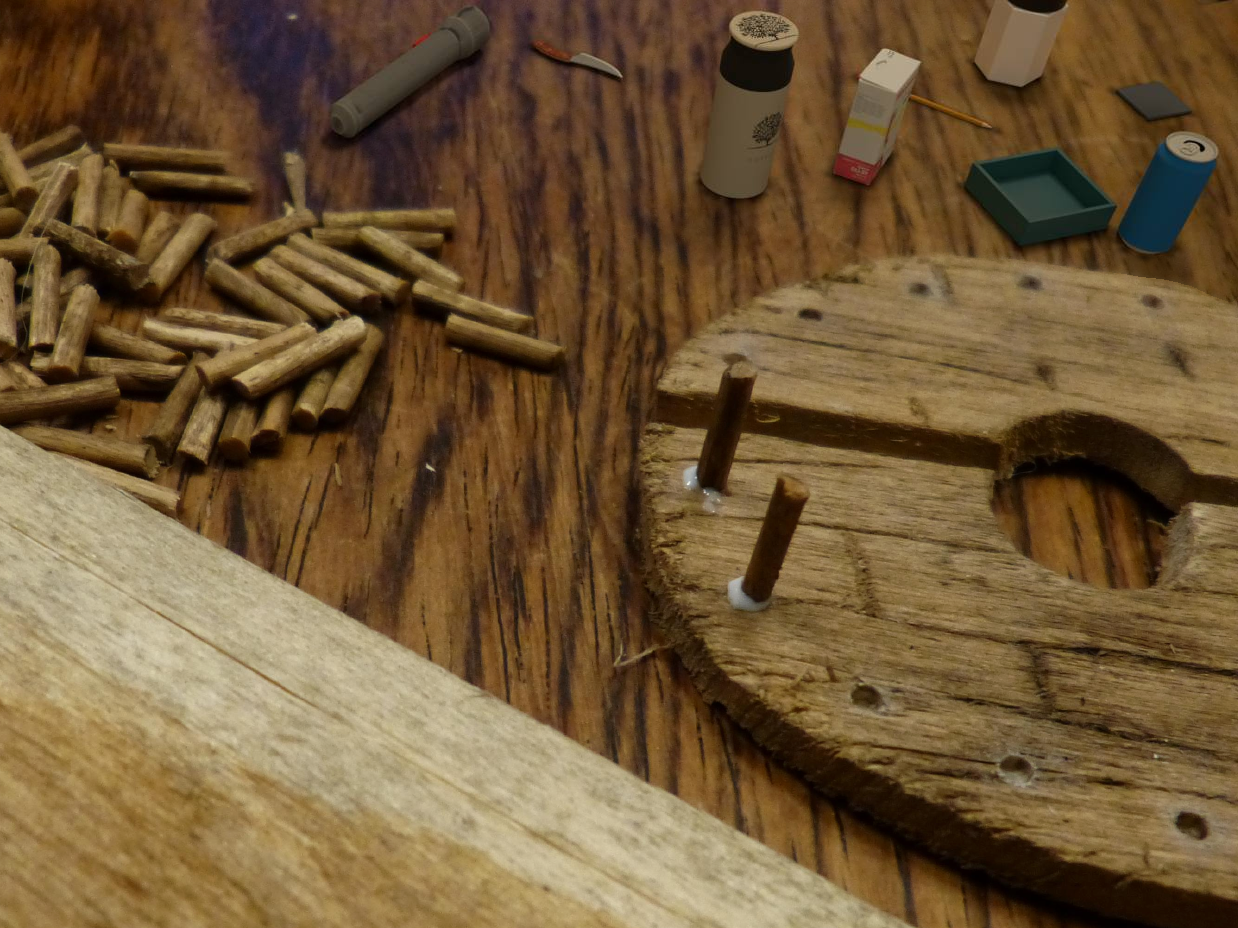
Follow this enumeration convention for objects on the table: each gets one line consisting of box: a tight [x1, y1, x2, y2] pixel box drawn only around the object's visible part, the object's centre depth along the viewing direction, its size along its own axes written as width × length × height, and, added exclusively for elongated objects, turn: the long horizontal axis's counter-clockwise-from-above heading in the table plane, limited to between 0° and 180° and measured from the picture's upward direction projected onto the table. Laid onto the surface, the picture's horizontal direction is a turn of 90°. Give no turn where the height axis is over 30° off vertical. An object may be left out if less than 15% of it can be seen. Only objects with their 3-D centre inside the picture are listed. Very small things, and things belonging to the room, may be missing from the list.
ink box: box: [832, 48, 922, 186], centre depth 149 cm, size 9×5×12 cm, turn 151°
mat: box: [1115, 81, 1193, 121], centre depth 166 cm, size 7×7×1 cm
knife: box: [532, 39, 624, 79], centre depth 162 cm, size 13×1×3 cm
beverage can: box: [1117, 131, 1219, 255], centre depth 143 cm, size 6×6×12 cm
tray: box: [963, 146, 1118, 247], centre depth 149 cm, size 12×12×3 cm
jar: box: [973, 0, 1069, 88], centre depth 163 cm, size 9×8×12 cm
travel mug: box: [700, 10, 800, 199], centre depth 142 cm, size 8×8×18 cm
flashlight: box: [328, 5, 491, 139], centre depth 154 cm, size 5×28×5 cm
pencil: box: [856, 73, 995, 130], centre depth 162 cm, size 19×1×1 cm, turn 57°
